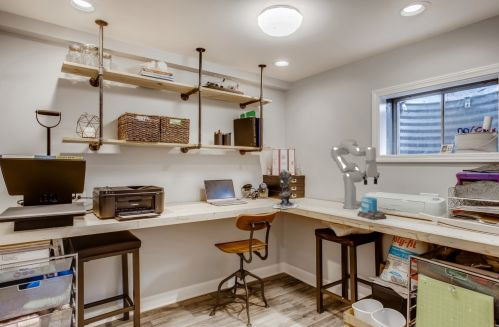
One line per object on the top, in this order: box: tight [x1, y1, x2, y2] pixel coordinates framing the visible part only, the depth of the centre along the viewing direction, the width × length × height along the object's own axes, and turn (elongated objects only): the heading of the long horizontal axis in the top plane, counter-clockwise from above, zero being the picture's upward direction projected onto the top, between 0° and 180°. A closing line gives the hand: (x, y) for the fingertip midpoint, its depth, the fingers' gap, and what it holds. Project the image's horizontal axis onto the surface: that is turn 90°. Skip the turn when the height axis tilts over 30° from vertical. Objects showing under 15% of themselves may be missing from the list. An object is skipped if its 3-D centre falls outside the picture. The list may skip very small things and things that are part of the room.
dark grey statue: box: [271, 169, 299, 210], centre depth 266 cm, size 22×25×35 cm
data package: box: [360, 196, 378, 213], centre depth 230 cm, size 12×4×12 cm, turn 23°
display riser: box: [356, 210, 387, 221], centre depth 212 cm, size 16×12×4 cm
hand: (370, 184), depth 228 cm, fingers open, 9 cm apart
